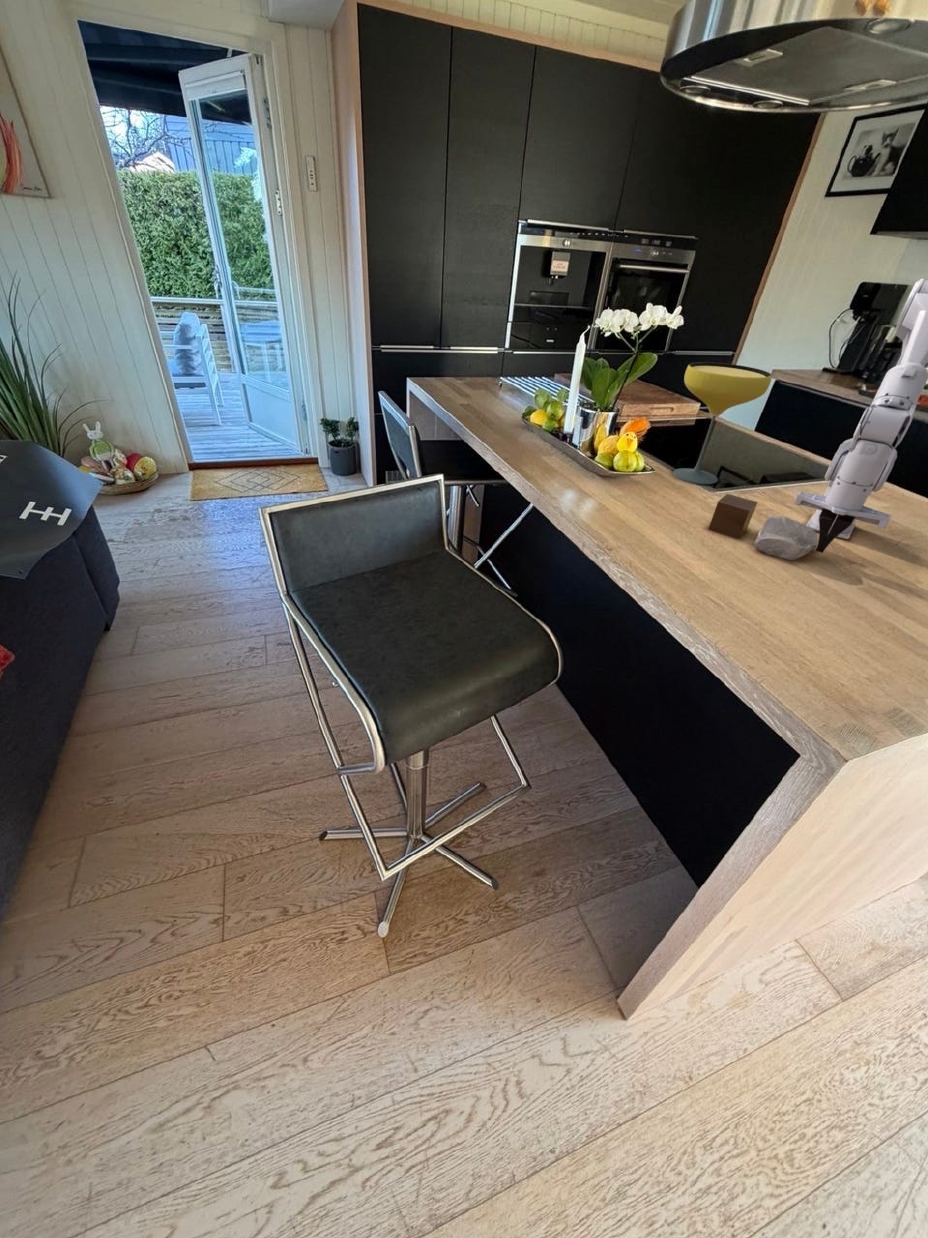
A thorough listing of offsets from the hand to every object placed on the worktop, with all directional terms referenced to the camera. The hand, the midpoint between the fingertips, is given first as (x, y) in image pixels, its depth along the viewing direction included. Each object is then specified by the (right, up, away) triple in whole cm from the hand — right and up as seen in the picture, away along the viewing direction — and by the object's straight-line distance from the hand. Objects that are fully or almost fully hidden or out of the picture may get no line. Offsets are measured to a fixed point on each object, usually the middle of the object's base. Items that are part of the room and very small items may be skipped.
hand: (819, 550), depth 98 cm
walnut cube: (-13, +6, +9) cm, 17 cm away
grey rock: (-5, +1, +3) cm, 6 cm away
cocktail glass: (-8, +23, +34) cm, 42 cm away
